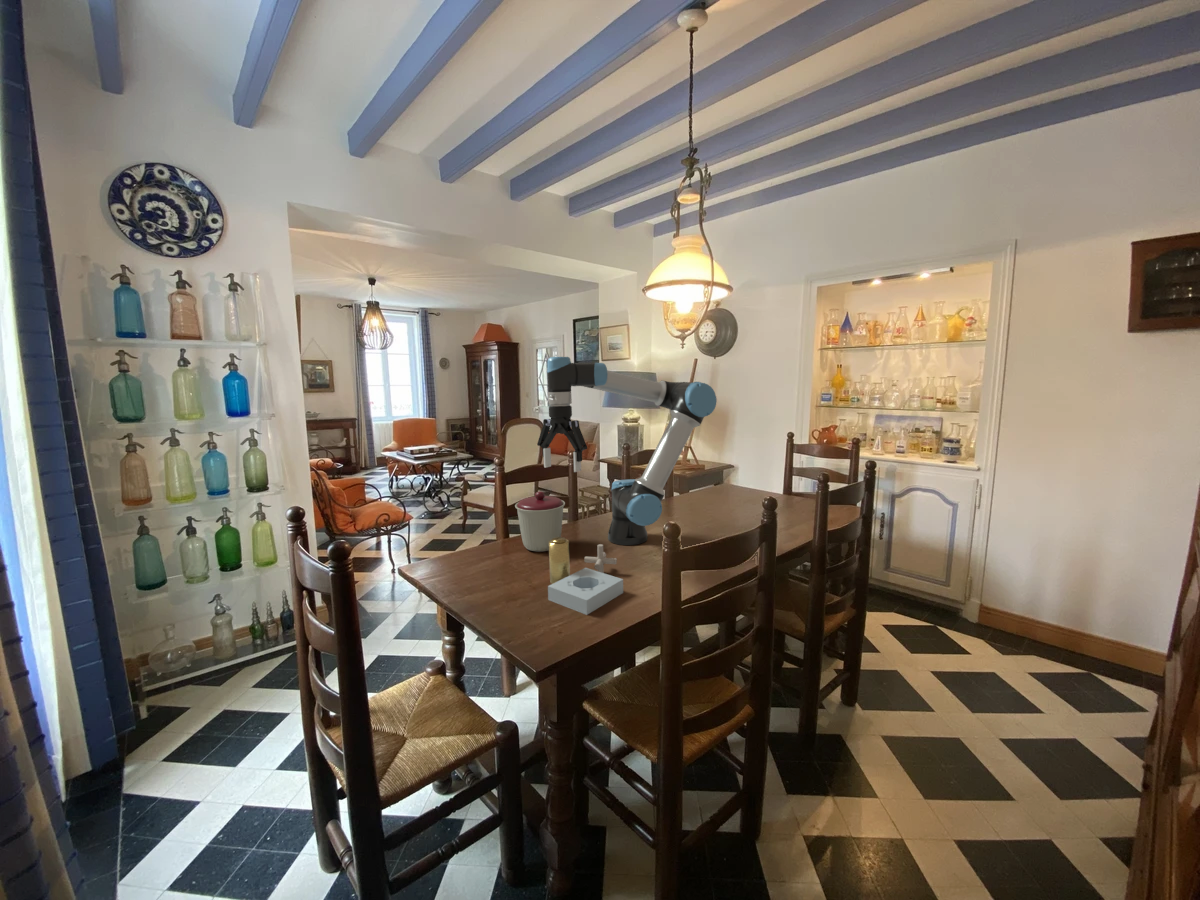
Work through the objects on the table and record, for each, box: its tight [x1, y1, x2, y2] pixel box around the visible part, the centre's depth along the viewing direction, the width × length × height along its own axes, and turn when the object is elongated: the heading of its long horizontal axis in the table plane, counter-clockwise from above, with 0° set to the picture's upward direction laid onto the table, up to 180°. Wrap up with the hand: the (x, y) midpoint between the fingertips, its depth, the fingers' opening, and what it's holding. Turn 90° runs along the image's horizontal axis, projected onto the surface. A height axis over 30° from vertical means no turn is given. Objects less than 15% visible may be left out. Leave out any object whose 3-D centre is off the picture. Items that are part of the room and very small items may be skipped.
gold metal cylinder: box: [548, 536, 571, 585], centre depth 143 cm, size 6×6×14 cm
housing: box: [547, 567, 624, 616], centre depth 133 cm, size 16×14×5 cm
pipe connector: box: [583, 543, 618, 573], centre depth 149 cm, size 10×10×10 cm
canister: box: [514, 490, 566, 553], centre depth 174 cm, size 18×18×21 cm
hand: (562, 469), depth 158 cm, fingers open, 13 cm apart
